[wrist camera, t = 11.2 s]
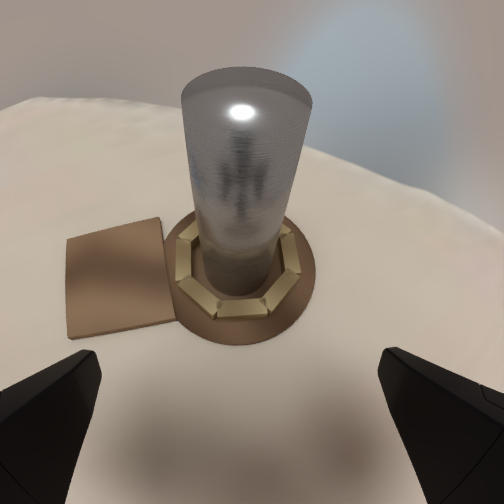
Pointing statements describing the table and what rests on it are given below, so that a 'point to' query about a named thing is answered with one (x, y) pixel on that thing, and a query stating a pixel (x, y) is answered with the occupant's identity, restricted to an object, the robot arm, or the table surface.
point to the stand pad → (117, 280)
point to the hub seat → (238, 307)
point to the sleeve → (242, 167)
